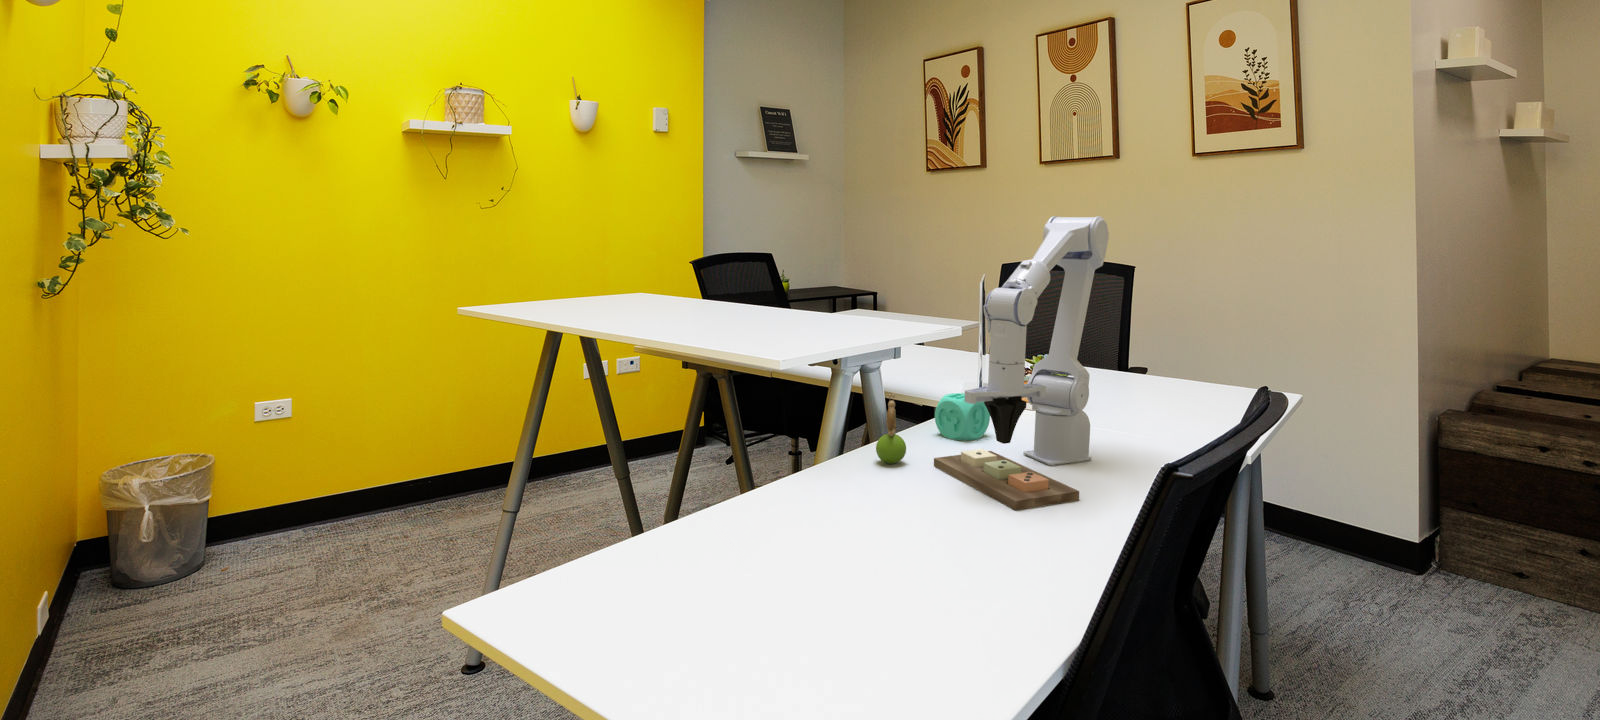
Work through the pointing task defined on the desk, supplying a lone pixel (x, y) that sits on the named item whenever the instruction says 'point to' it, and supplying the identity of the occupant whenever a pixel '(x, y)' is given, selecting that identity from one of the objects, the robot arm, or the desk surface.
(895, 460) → the green wooden maraca
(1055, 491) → the button board
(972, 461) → the cream button
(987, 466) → the sage button
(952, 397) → the decorative dice
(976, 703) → the desk surface
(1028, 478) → the terracotta button
